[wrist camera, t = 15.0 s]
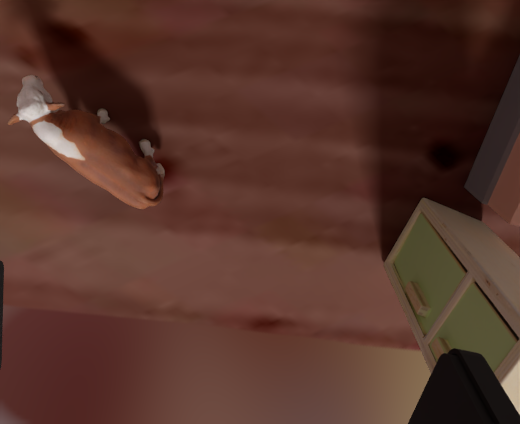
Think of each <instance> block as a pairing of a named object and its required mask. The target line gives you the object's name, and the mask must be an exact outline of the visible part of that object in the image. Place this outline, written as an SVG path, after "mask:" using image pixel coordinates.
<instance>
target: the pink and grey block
mask: <svg viewBox="0 0 520 424" xmlns="http://www.w3.org/2000/svg"><path fill="white" fill-rule="evenodd" d="M464 188H465V189H467V190H468V191H469V192H470V193H471V194H472V195H473V196H474V197H475V198H476V199H478V200H479V201H480V202H481V203H483V204H487V205H488V206H490V207H491V208H492V209H493V210H494V211H495V212H496V213H497V214H499V215H500V216H501V217H502V218H503V219H504V220H505V221H506V222H508V223H509V224H511V225H516V226H520V55H519V58H518V60H517V62H516V65H515V67H514V69H513V72H512V74H511V76H510V79H509V81H508V84H507V86H506V88H505V91H504V93H503V95H502V98H501V100H500V103H499V105H498V107H497V110H496V112H495V114H494V117H493V119H492V121H491V124H490V126H489V129H488V131H487V133H486V136H485V138H484V140H483V143H482V145H481V148H480V150H479V152H478V155H477V157H476V159H475V162H474V164H473V166H472V169H471V171H470V174H469V176H468V178H467V181H466V183H465V185H464Z"/></svg>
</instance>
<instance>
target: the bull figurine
mask: <svg viewBox="0 0 520 424" xmlns="http://www.w3.org/2000/svg"><path fill="white" fill-rule="evenodd" d="M22 84H23V88H22V90H21V91H20V93H19V95H18V97H17V106H18V113H16V114H14V115H13V116H12V117H11V118H10V120H9V122H8V125H12V124H14V123H16V122H19V121H21V120H26V121H28V122H29V123H30V125H31V127H32V129H33V131H34V132H35V134H36V135H37V136H38V137H39V138H40V139H41V140H42V141H43V142H45V143H46V144H47V146H48V147H49V148H50V149H51V150H52V152H53V153H54V154H55V155H56V156H58V157H59V158H60V159H62V160H63V161H65V162H66V163H68V164H69V165H70V166H71V167H72V168H73V169H74V170H75V171H77V172H78V173H80V174H81V175H82V176H84V177H85V178H87V179H88V180H90V181H91V182H93V183H94V184H96V185H98V186H100V187H102V188H104V189H105V190H107V191H109V192H110V193H111V194H112V195H114V196H115V197H117V198H118V199H120V200H121V201H123V202H124V203H126V204H128V205H130V206H133V207H135V208H138V209H145V208H147V207H148V206H155V205H157V204H159V203H160V202H161V200H162V197H163V178H164V169H163V167H162V165H161V164H160V163H158V164H156V163H155V161H154V159H153V153H154V149H153V148H151V145H150V144H151V143H150V142H149V141H148V140H146V139H142V140H141V141H140V142H139V145H140V148H141V150H142V151H143V153H144V155H145V157H144V158H142V157H140V156H136V155H135V154H134V152H133V151H132V149H131V147H130V145H129V144H128V142H127V141H126V140H125V139H124V138H123V137H122V136H121V135H119V134H117V133H116V132H114V131H111V130H109V129H106V128H105V127H104V126H102V125H101V124H100V123H102V124H105V123H106V122H107V121H109V120H110V118H109V117H108V112H107V111H106V110H105V109H99V110H98V111H97V115H96V114H91V113H88V112H83V111H81V110H75V109H74V110H69V111H62V110H60V109H59V108H60V107H63V106H65V104H64V103H53V101H52V98H51V96H50V94H49V93H48V92H47V91H46V90H45V89H44V88H43V82H42V80H41V79H40V78H39V77H38V76H34V75H29V76H26V77H24V78H23V79H22ZM157 194H158V196H157V197H156V195H157ZM155 197H156V198H155Z"/></svg>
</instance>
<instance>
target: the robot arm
mask: <svg viewBox="0 0 520 424" xmlns="http://www.w3.org/2000/svg"><path fill="white" fill-rule="evenodd" d="M3 280H4V265H3V262H2V261H0V368H1V360H2V319H3ZM408 424H520V415H519V413H518V411H517V410H516V408H515V407H514V405H513V403H512V402H511V400H510V398H509V397H508V395H507V394H506V392H505V390H504V389H503V387H502V385H501V384H500V382H499V381H498V379H497V377H496V376H495V374H494V372H493V371H492V369H491V368H490V366H489V364H488V363H487V361H486V359H485V358H484V357H483V356H482V354H479V353H476V352H471V351H466V350H461V349H456V348H454V349H451V350H450V351H449V352H448V353H443V354H442V355H440V357H439V359H438V361H437V363H436V365H435V367H434V369H433V372H432V374H431V376H430V378H429V381H428V382H427V384H426V386H425V389H424V391H423V393H422V395H421V398H420V399H419V402H418V404H417V406H416V408H415V410H414V412H413V414H412V416H411V418H410V420H409V423H408Z"/></svg>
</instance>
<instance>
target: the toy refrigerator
mask: <svg viewBox="0 0 520 424" xmlns="http://www.w3.org/2000/svg"><path fill="white" fill-rule="evenodd" d="M384 268H385V271H386V273H387V275H388V277H389V279H390V281H391V284H392V286H393V288H394V290H395V293H396V295H397V297H398V299H399V302H400V304H401V306H402V308H403V311H404V313H405V315H406V317H407V320H408V322H409V324H410V326H411V329H412V331H413V333H414V336H415V338H416V340H417V342H418V345H419V347H420V349H421V351H422V354H423V356H424V358H425V361H426V363H427V365H428V367H429V370H430V372H431V374H432V372H433V369H434V367H435V365H436V363H437V361H438V359H439V357H440V355H442V354H443V353H448V352H449V351H450V350H451V349H454V348H456V349H461V350H466V351H471V352H476V353H479V354H482V356H483V357H484V358H485V359H486V361H487V363H488V364H489V366H490V368H491V369H492V371H493V372H494V374H495V376H496V377H497V379H498V381H499V382H500V384H501V385H502V387H503V389H504V390H505V392H506V394H507V395H508V397H509V398H510V400H511V402H512V403H513V405H514V407H515V408H516V410H517V411H518V413H519V415H520V257H519V256H518V255H517V254H516V253H515V252H514V251H513V250H511V249H510V248H509V247H508V246H507V245H506V244H505V243H504V242H503V241H502V240H501V239H500V238H499V237H498V236H497V235H496V234H495V233H494V232H493V231H492V230H491V229H490V228H489V227H488V226H487V225H485V224H484V223H483V222H481V221H479V220H477V219H475V218H472V217H470V216H467V215H465V214H463V213H460V212H458V211H456V210H453V209H451V208H448V207H446V206H443V205H441V204H439V203H436V202H434V201H431V200H429V199H427V198H422V199H421V200H420V202H419V204H418V205H417V207H416V209H415V210H414V212H413V214H412V216H411V217H410V219H409V221H408V223H407V224H406V226H405V228H404V229H403V231H402V233H401V235H400V236H399V238H398V240H397V242H396V243H395V245H394V247H393V248H392V250H391V252H390V254H389V255H388V257H387V259H386V260H385V262H384Z"/></svg>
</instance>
